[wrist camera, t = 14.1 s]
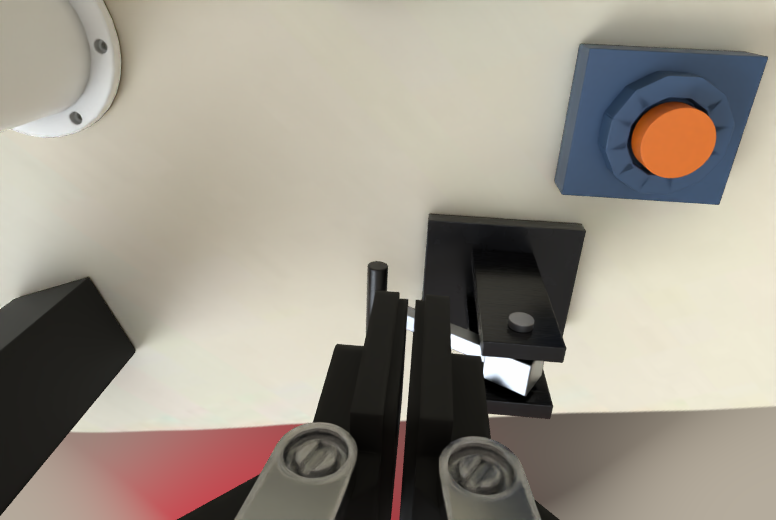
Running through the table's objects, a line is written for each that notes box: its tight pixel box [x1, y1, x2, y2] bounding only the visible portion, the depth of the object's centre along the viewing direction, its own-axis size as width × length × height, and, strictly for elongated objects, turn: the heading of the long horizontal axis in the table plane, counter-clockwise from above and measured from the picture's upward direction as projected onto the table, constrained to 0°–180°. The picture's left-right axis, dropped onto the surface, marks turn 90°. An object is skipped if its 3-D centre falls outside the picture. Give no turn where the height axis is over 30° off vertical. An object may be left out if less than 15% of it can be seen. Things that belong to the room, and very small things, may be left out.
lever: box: [366, 261, 544, 396], centre depth 34 cm, size 12×6×2 cm, turn 85°
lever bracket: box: [422, 214, 586, 419], centre depth 36 cm, size 11×9×13 cm
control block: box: [554, 44, 768, 205], centre depth 34 cm, size 10×9×4 cm
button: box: [631, 102, 716, 178], centre depth 31 cm, size 4×4×2 cm
